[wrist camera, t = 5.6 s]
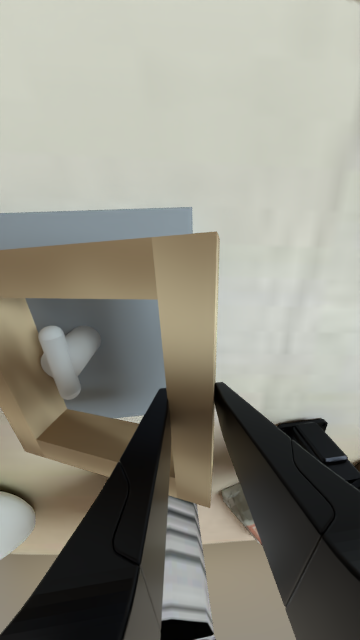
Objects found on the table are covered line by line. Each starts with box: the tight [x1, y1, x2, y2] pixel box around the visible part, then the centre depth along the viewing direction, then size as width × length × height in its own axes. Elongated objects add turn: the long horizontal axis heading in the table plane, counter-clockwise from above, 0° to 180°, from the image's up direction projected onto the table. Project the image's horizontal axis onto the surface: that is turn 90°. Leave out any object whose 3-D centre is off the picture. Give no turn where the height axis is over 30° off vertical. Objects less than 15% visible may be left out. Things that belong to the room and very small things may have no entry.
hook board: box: [0, 207, 193, 418], centre depth 13 cm, size 18×16×6 cm
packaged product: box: [222, 483, 262, 545], centre depth 27 cm, size 18×5×10 cm
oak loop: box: [0, 232, 220, 508], centre depth 9 cm, size 13×13×2 cm
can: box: [160, 495, 216, 640], centre depth 18 cm, size 11×11×12 cm
